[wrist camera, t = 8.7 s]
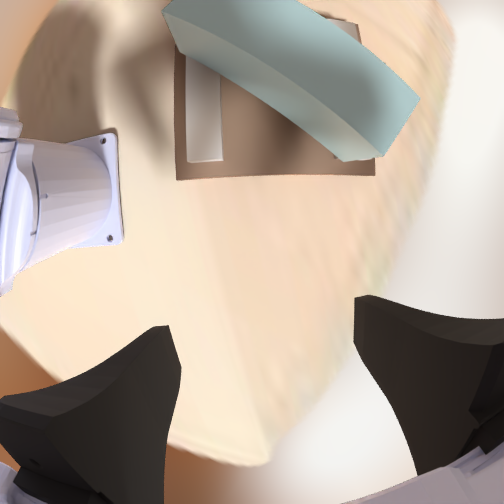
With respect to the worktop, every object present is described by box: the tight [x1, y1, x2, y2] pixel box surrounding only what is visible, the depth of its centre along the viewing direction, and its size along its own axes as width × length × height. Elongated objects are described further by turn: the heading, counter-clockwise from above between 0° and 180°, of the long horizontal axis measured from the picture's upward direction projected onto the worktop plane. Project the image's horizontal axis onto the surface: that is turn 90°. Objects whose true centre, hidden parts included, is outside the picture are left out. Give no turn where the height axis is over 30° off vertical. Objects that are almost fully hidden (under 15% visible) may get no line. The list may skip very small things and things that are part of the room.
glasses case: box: [161, 0, 420, 162], centre depth 12 cm, size 12×4×5 cm, turn 54°
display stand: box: [174, 18, 375, 180], centre depth 16 cm, size 13×12×3 cm
